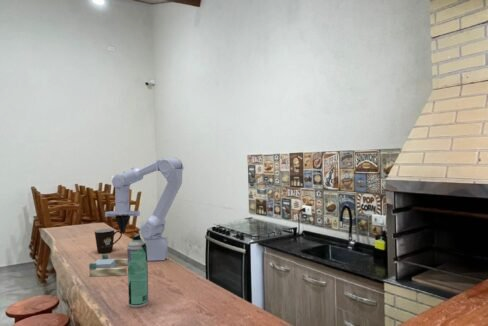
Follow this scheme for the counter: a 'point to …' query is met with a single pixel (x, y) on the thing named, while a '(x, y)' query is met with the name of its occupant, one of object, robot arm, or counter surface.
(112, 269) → the channel
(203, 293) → the counter surface
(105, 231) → the coffee mug
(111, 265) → the block
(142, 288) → the spray can
